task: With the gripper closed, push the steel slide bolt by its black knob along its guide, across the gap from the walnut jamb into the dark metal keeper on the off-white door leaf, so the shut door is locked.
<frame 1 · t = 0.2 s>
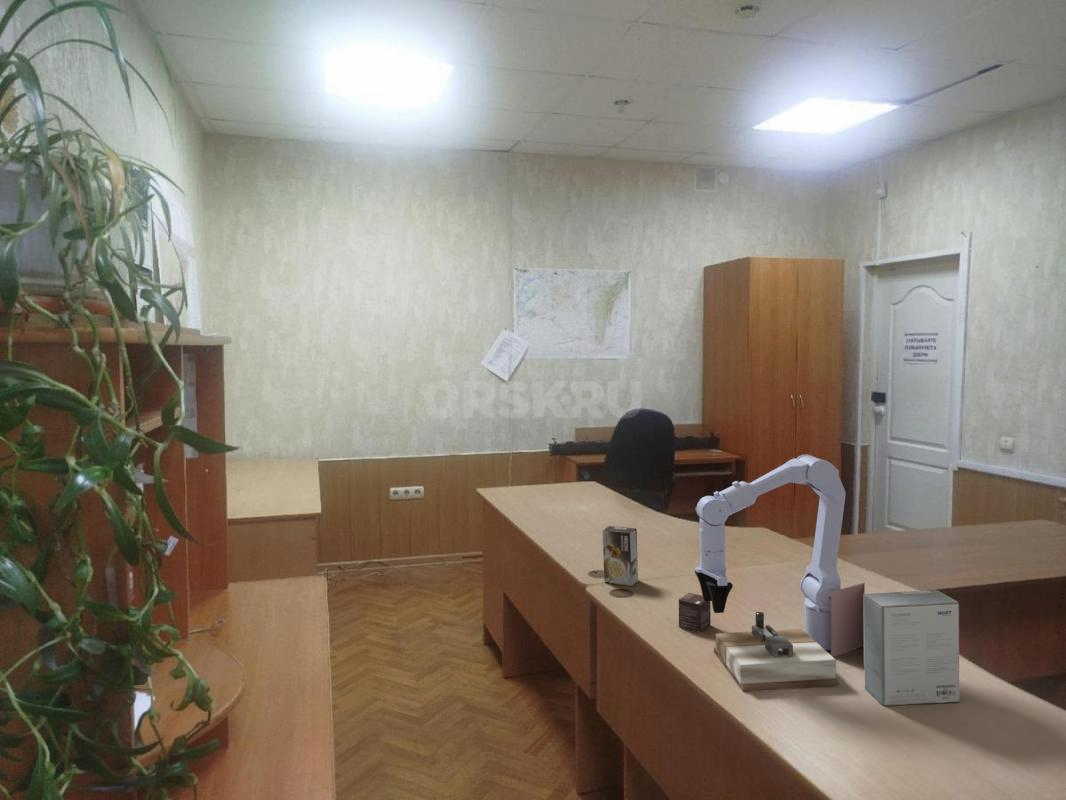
hand: (713, 606, 167), 10 cm above the table, tool pointing down, fingers open, 7 cm apart
greeting card: (859, 657, 161), on the table
bolt: (763, 626, 161), point 7 cm above the table, slide at 0.0 cm
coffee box: (621, 582, 217), on the table
door frame: (772, 667, 156), on the table
box: (694, 627, 181), on the table
hard drive box: (910, 696, 143), on the table
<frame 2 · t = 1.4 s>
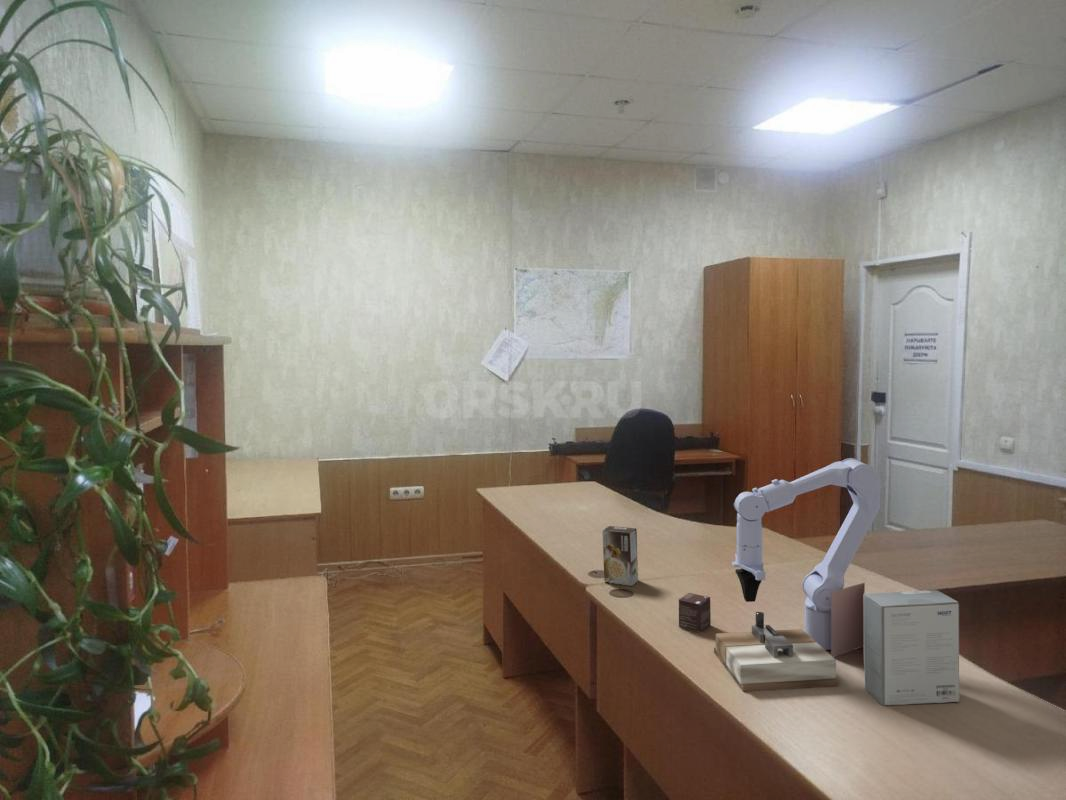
hand: (749, 600, 169), 10 cm above the table, tool pointing down, fingers closed
greeting card: (859, 656, 161), on the table, touching arm
everything else where it was.
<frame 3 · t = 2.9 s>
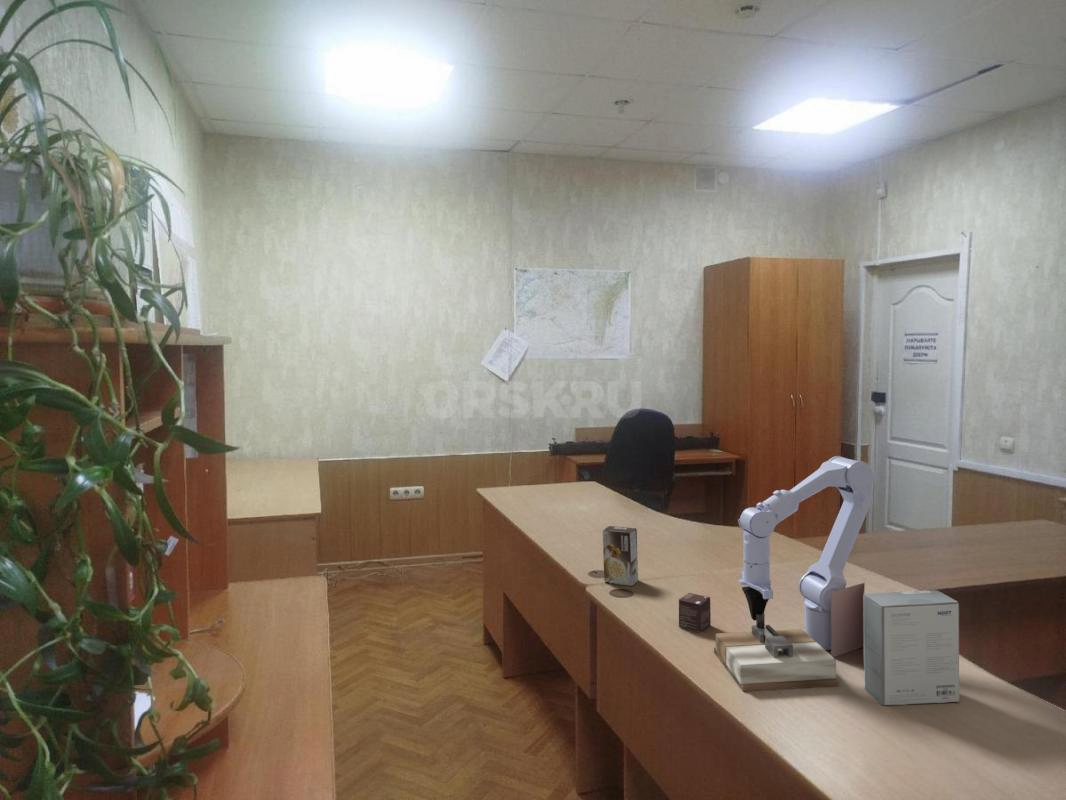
hand: (756, 619, 165), 7 cm above the table, tool pointing down, fingers closed
greeting card: (859, 657, 161), on the table
bolt: (764, 626, 160), point 7 cm above the table, slide at 0.4 cm, touching gripper
everything else where it was.
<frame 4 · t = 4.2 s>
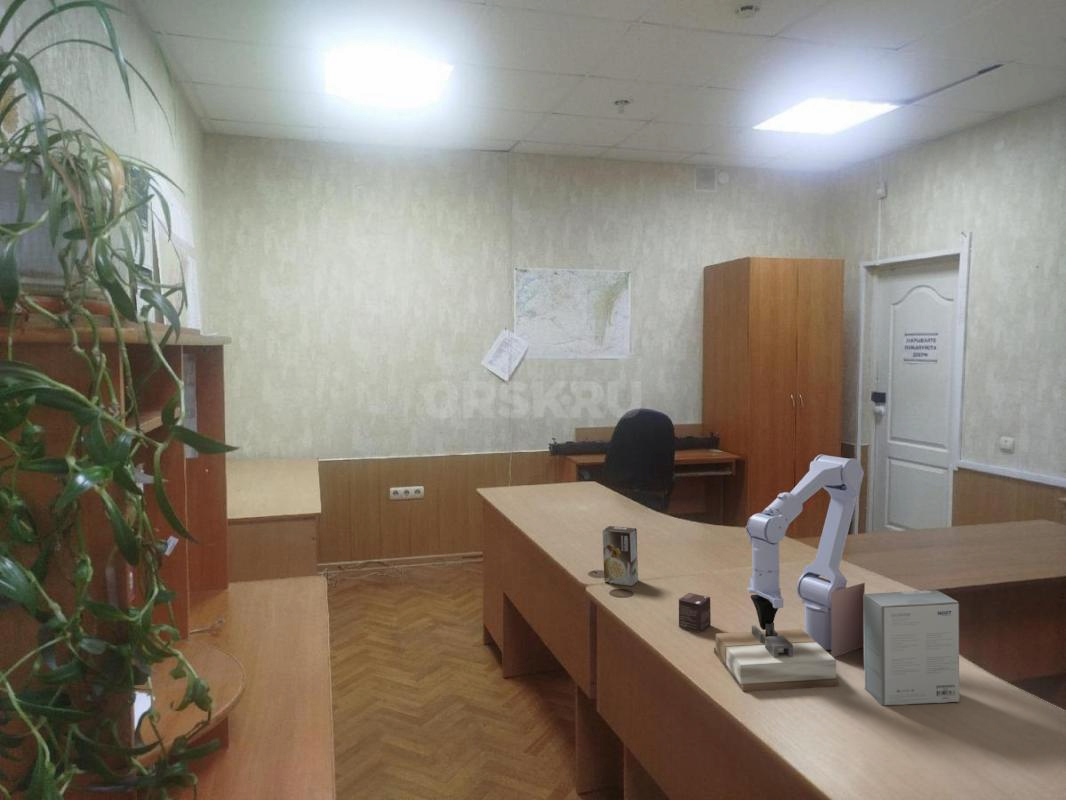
hand: (766, 628, 159), 7 cm above the table, tool pointing down, fingers closed
bolt: (774, 636, 155), point 7 cm above the table, slide at 5.9 cm, touching gripper
everything else where it was.
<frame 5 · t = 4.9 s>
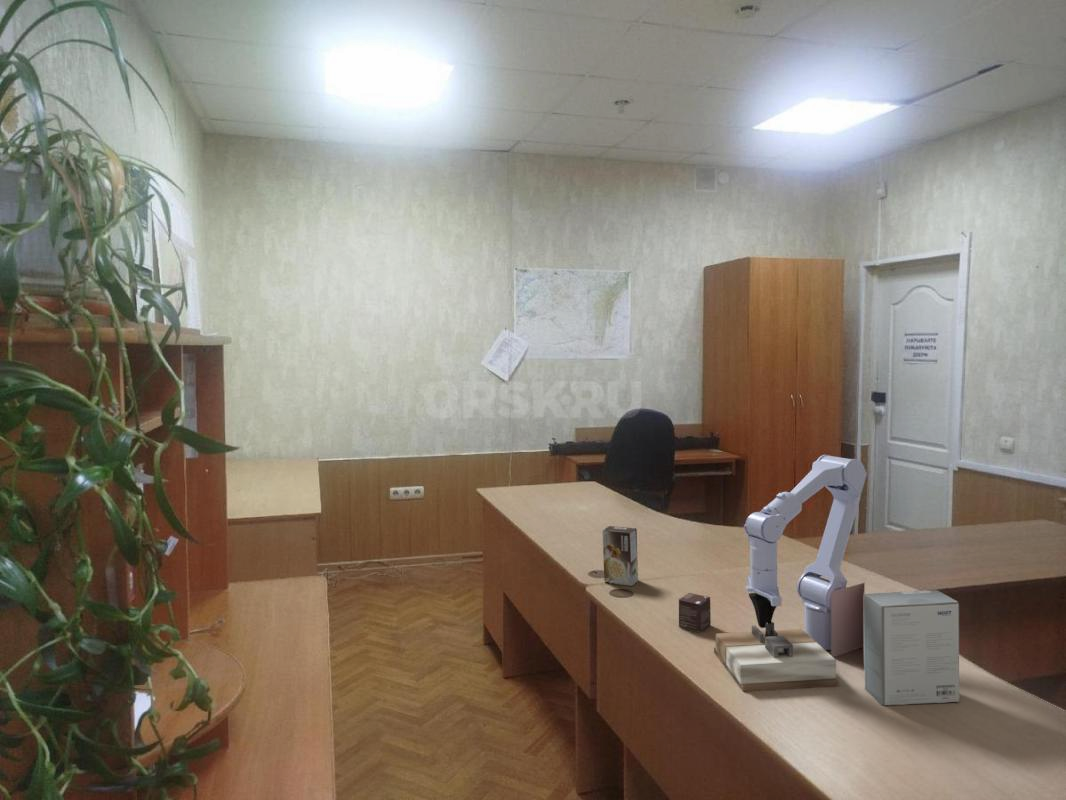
hand: (764, 626, 160), 7 cm above the table, tool pointing down, fingers closed
bolt: (774, 636, 155), point 7 cm above the table, slide at 5.9 cm
everything else where it was.
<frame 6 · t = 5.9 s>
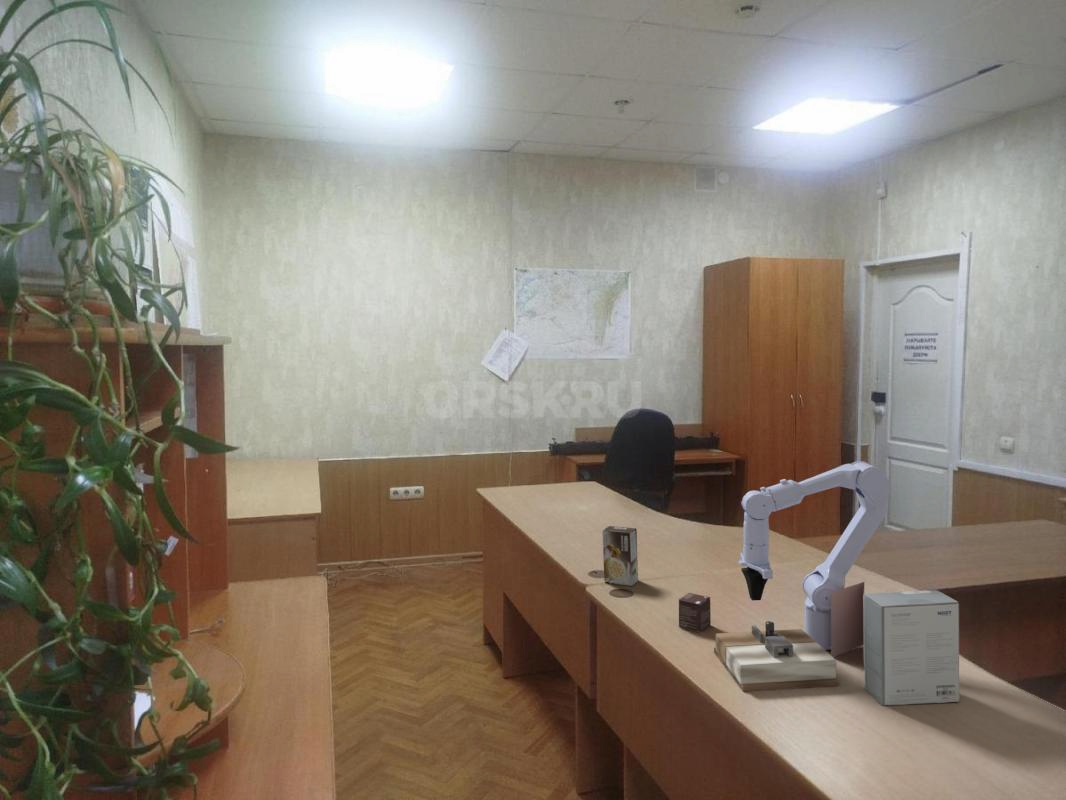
hand: (755, 599, 169), 10 cm above the table, tool pointing down, fingers closed
nothing on the table moved.
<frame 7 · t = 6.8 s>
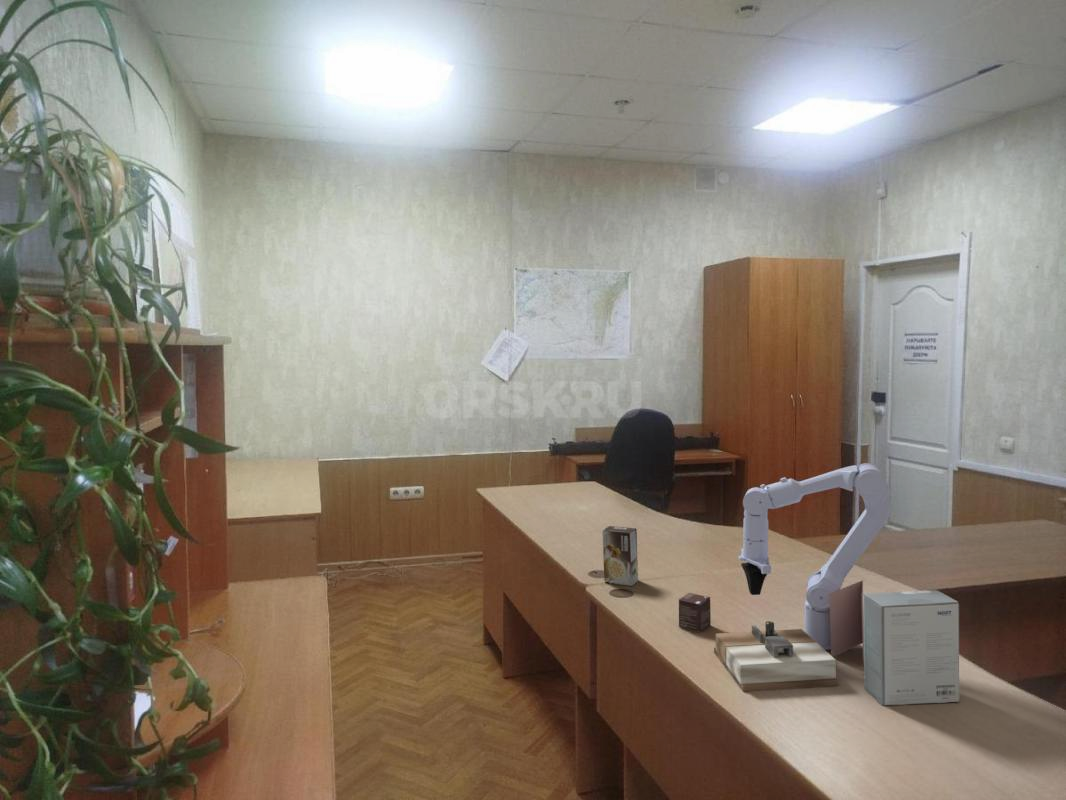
hand: (754, 593, 173), 10 cm above the table, tool pointing down, fingers closed
greeting card: (859, 655, 161), on the table, touching arm
everything else where it was.
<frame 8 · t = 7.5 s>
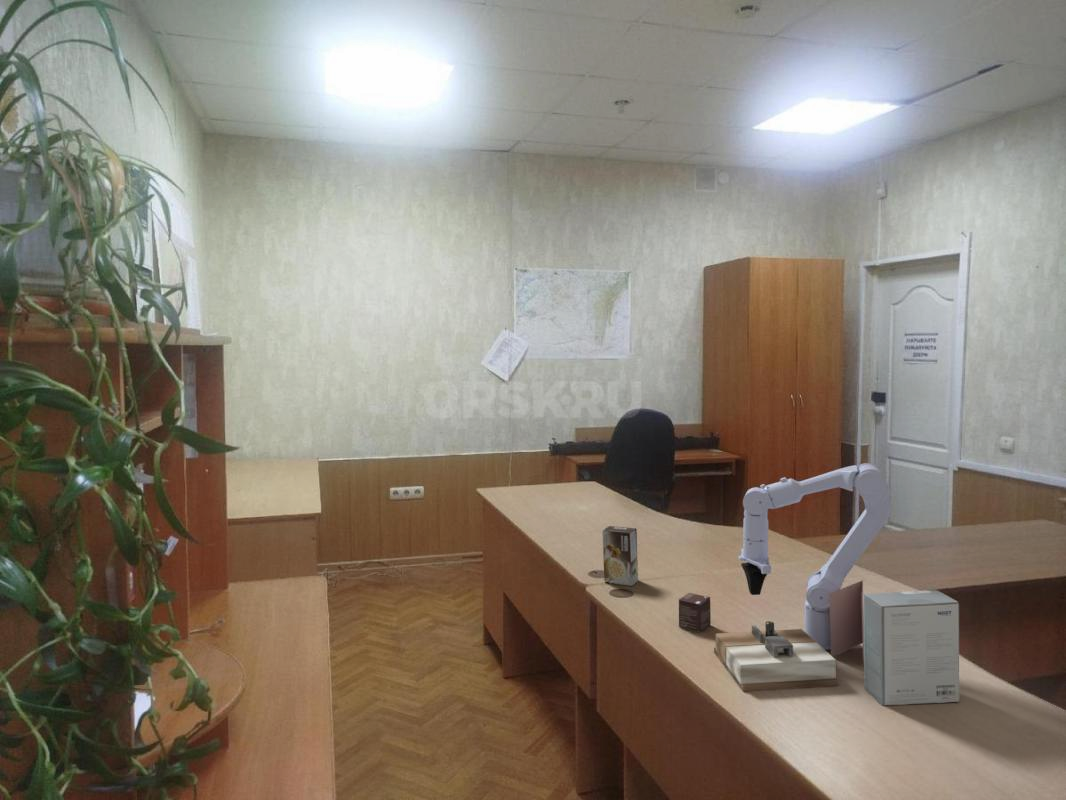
hand: (754, 593, 173), 10 cm above the table, tool pointing down, fingers closed
nothing on the table moved.
at the end: bolt slide at 5.9 cm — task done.
